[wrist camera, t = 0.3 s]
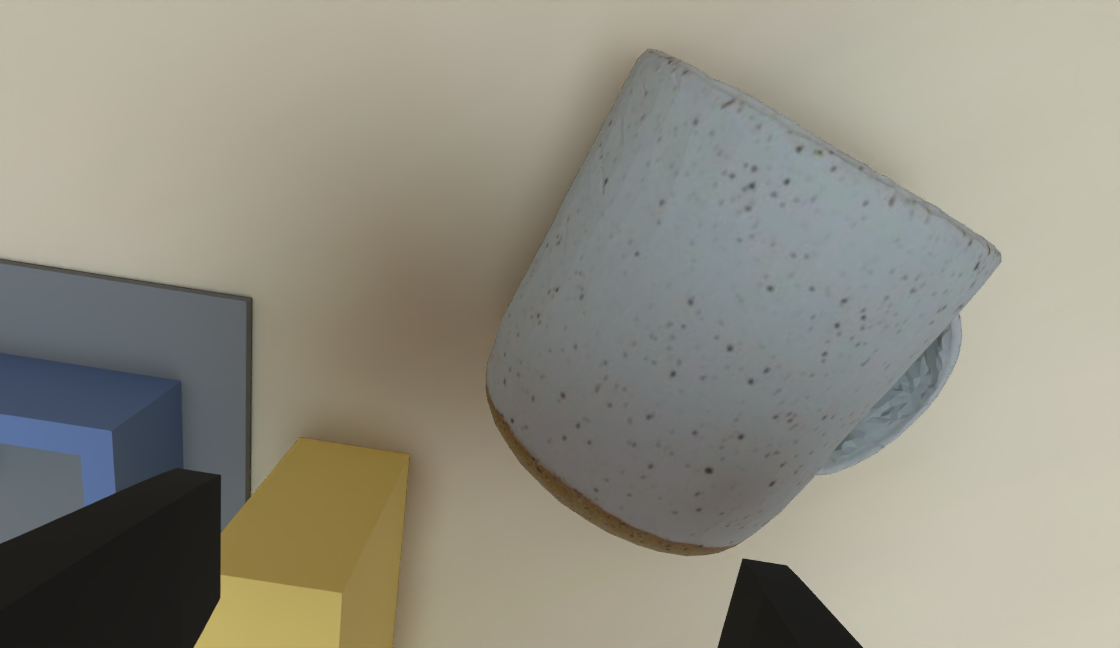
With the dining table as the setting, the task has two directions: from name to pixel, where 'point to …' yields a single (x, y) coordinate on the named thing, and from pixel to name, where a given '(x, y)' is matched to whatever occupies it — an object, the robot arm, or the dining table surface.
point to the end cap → (93, 419)
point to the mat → (134, 347)
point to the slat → (314, 553)
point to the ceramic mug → (722, 317)
